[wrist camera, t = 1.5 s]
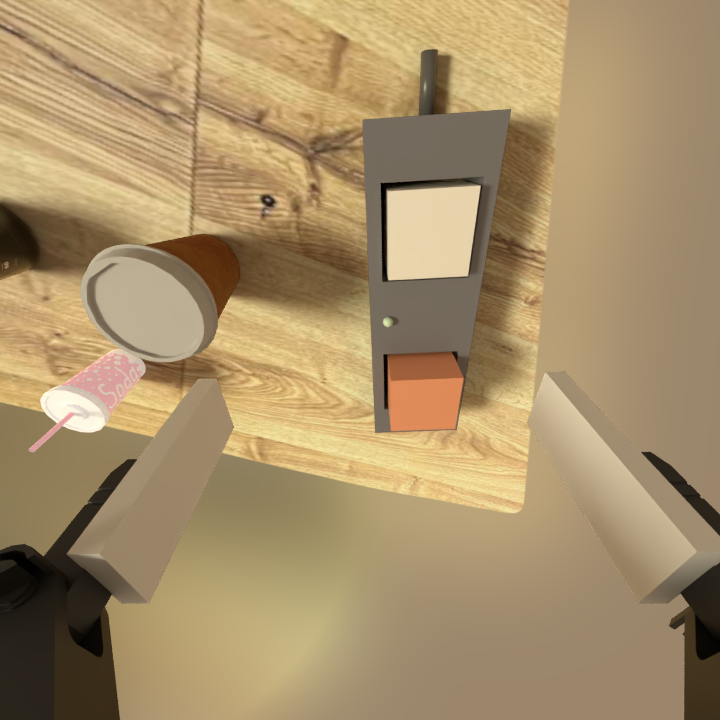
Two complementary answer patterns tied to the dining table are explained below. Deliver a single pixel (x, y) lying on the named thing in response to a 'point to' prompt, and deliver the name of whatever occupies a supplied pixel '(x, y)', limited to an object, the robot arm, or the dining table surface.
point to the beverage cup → (91, 394)
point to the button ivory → (429, 229)
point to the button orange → (423, 391)
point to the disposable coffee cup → (160, 295)
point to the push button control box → (461, 294)
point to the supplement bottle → (15, 246)
